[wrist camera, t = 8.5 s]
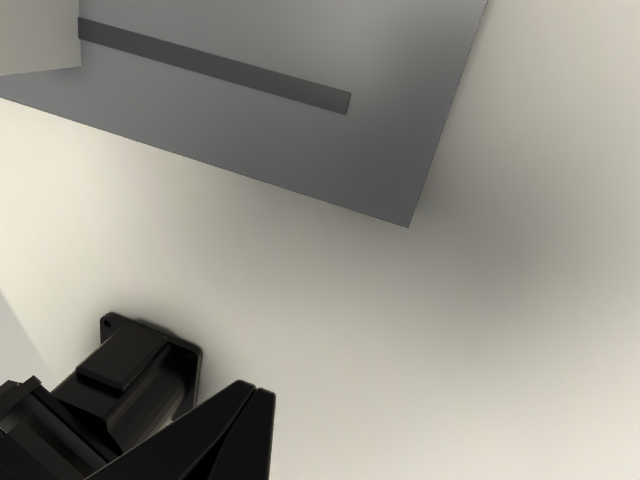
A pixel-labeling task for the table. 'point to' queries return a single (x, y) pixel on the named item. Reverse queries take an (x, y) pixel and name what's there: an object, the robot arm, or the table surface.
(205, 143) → the console
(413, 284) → the table surface
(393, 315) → the table surface
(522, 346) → the table surface
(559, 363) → the table surface
